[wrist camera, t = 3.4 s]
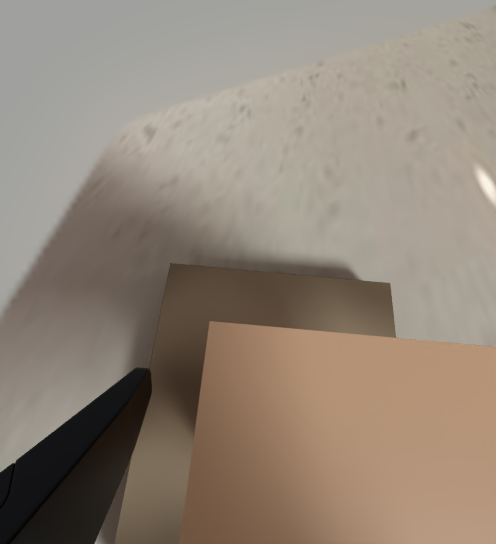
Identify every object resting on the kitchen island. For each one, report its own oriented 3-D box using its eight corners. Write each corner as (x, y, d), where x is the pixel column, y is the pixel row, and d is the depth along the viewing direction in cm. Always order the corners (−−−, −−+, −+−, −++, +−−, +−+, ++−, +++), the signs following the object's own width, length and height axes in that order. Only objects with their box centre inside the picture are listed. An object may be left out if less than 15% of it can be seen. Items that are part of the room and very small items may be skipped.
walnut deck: (398, 605, 12) (428, 647, 10) (121, 580, 12) (98, 618, 10) (373, 293, 17) (390, 283, 15) (177, 275, 17) (170, 263, 15)
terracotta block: (323, 481, 12) (654, 878, 2) (218, 471, 12) (141, 831, 2) (322, 369, 13) (517, 349, 4) (229, 360, 13) (209, 320, 4)
